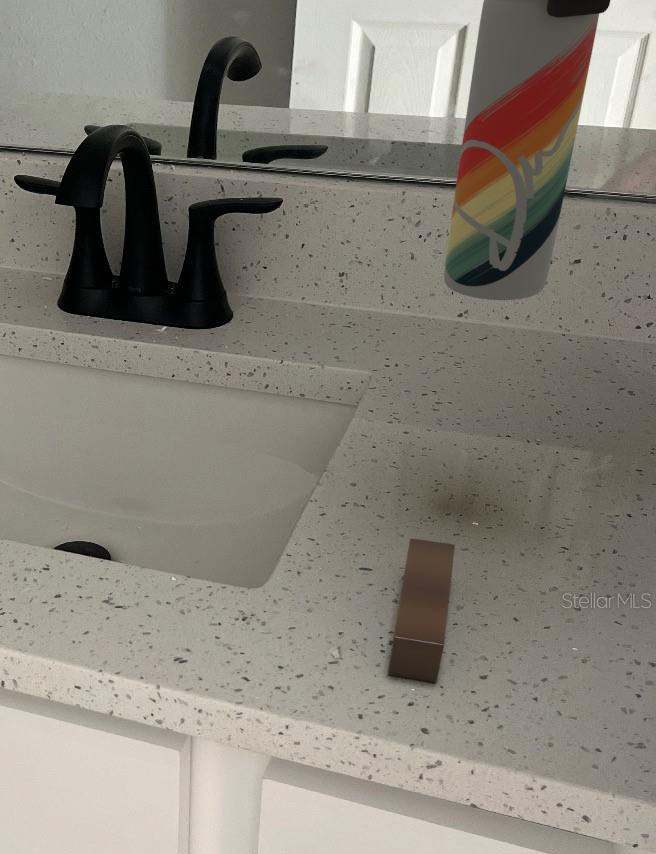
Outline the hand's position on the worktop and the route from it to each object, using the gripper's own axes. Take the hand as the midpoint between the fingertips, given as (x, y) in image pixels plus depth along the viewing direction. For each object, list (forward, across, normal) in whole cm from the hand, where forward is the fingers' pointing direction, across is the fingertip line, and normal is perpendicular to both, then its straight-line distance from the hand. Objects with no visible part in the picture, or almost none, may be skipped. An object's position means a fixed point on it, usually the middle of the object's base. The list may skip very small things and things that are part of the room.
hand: (536, 0), depth 61 cm
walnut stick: (+29, -11, +9) cm, 33 cm away
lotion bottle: (+15, 0, 0) cm, 15 cm away
